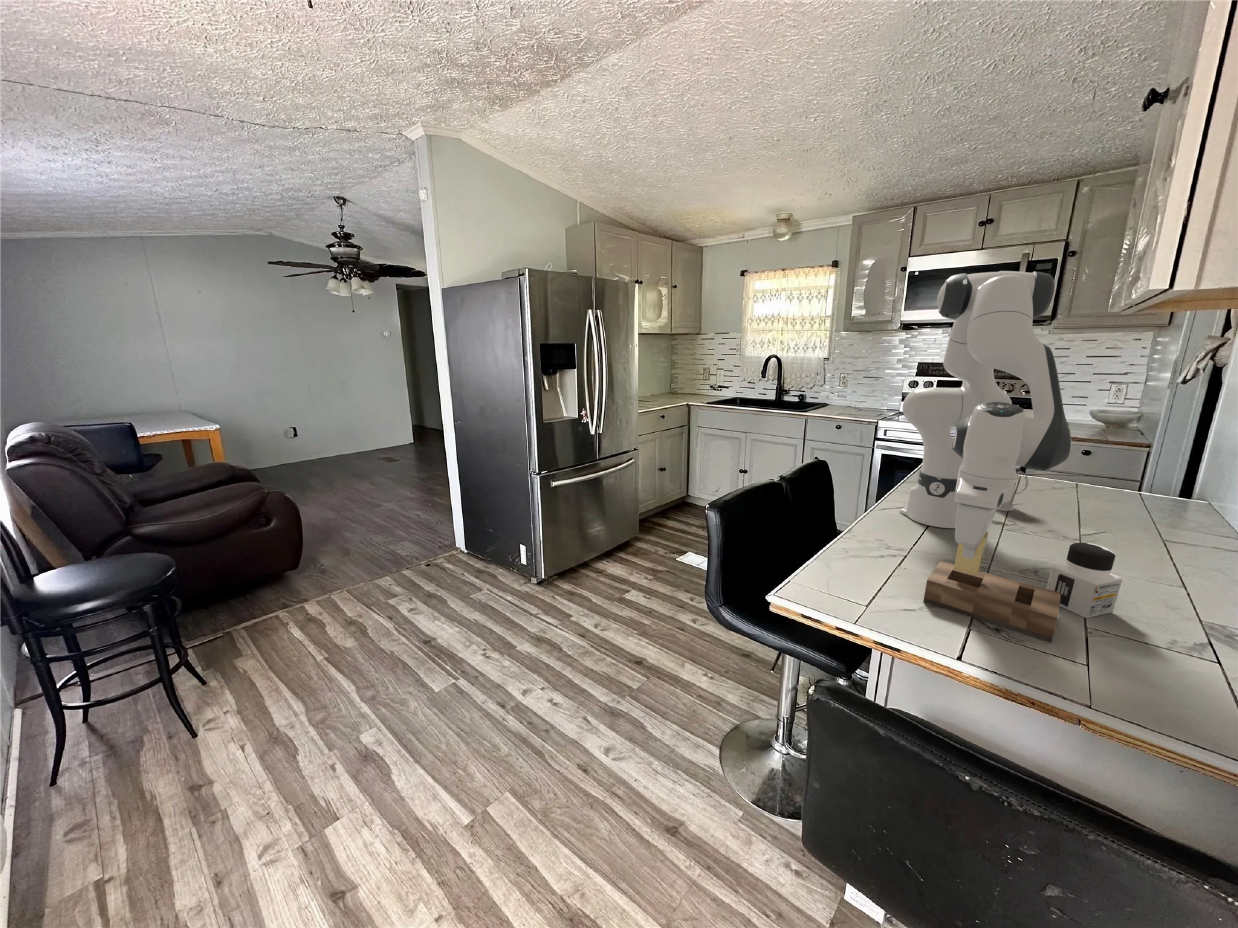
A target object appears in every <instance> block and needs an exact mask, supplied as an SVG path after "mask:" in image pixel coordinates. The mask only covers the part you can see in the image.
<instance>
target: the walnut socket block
mask: <svg viewBox="0 0 1238 928" xmlns="http://www.w3.org/2000/svg"><path fill="white" fill-rule="evenodd" d="M954 565H955V563H950V562H946V561H943V560H940V561H939V562H938V564H937V565H936V567H935V568H934V570H933V571H931V573H930V575H929V576H928V578H927V579H926V584H925V585H926V586H925V589H924V594H923V595H924V596H923V603H926V604H928V605H932V606H935V607H938V608H941V609H945V610H947V611H949V612H954V613H957V614H959V615H963V616H967V617H969V618H973V619H975V620H978V621H982V622H985V623H987V624H991V625H994V626H997V627H1000V628H1003V629H1006V630H1010V631H1013V632H1014V633H1015V632H1016V633H1019V634H1022V635H1025V636H1029V637H1031V638H1035V639H1038V640H1041V641H1043V642H1047V643H1049V644H1051V643H1052V642H1053V641H1052V640H1053V637H1054V634H1055V629H1056V626H1057V622H1058V617H1059V610H1060V606H1059V605H1060V598H1061V593H1060V592H1056V591H1052V590H1048V589H1046V588H1044V587H1041V586H1040V587H1039V586H1036V585H1034V584H1029V583H1025V582H1021V581H1017V580H1014V579H1009V578H1006V577H1003V576H999V575H995V574H991V573H989V572H988V573H987V572H985V571H981V570H980V572H979V574H978V576H976V575H973V574H969V573H965V572H962V571H958V570H954Z"/></svg>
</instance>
